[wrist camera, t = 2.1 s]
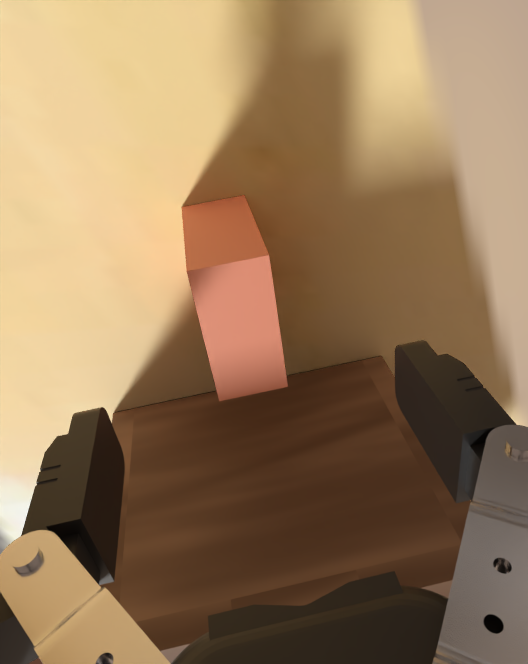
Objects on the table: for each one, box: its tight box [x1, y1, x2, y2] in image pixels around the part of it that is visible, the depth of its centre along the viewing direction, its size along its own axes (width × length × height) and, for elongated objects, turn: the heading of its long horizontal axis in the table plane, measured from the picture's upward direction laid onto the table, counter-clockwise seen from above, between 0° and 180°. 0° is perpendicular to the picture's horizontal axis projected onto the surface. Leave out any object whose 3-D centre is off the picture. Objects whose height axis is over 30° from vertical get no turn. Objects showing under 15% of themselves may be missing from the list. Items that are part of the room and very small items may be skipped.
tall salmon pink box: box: [182, 195, 288, 401], centre depth 18 cm, size 5×2×6 cm, turn 8°
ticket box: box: [99, 356, 471, 664], centre depth 23 cm, size 13×13×11 cm
